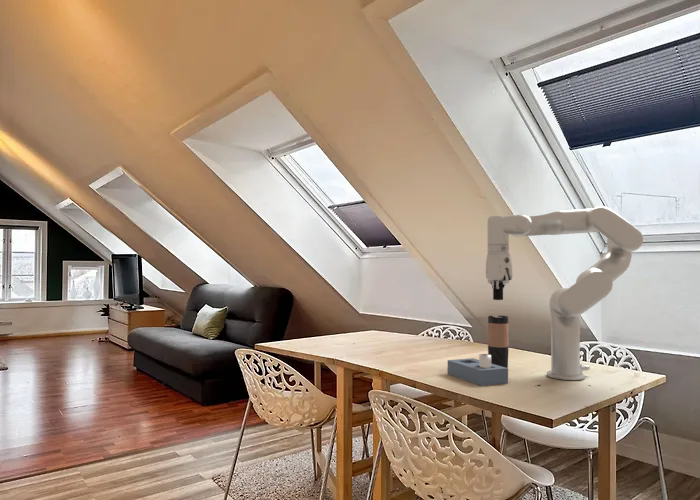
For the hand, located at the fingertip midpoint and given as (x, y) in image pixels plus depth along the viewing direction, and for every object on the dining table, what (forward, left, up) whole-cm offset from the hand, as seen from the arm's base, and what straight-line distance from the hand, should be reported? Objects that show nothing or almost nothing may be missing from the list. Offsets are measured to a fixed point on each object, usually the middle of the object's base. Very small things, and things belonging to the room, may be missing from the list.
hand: (498, 299), depth 193 cm
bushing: (+12, +8, -27) cm, 31 cm away
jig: (+12, +3, -27) cm, 30 cm away
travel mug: (-7, -9, -27) cm, 30 cm away
